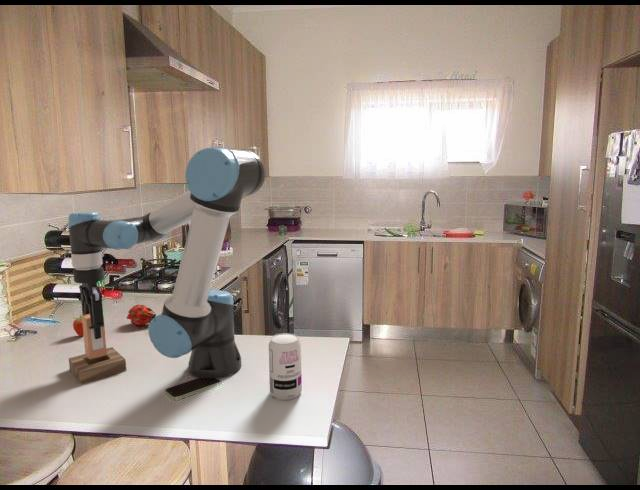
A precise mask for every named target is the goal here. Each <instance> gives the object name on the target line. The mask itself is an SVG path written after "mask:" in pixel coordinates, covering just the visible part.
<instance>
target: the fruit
mask: <svg viewBox="0 0 640 490" xmlns="http://www.w3.org/2000/svg"><path fill="white" fill-rule="evenodd" d="M72 318H73V319H75V320H74V321H73V323H72V326H73V330H74V332H75V333H76V334H77V336H79V337H82V336H83V337H84V333H83V323H82V313H80V314H79V317H74V316H73V317H72Z"/></svg>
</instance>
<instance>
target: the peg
mask: <svg viewBox="0 0 640 490" xmlns="http://www.w3.org/2000/svg"><path fill="white" fill-rule="evenodd" d="M81 316H82V323H83V333H84V335H83V341H84V343H83V344H84V354H85V355H86V356H87V357H88V358H89V359H93V358H97V357H101V356H105V355H107V351H106V349H107V342H106V341H107V340H106V339H107V338H106V330H105V325H104V326H102V336H103V347H104V348H101V349H97V350H93V349H92V338H91V329H89V327H91V326H92V325H91V319H90V313H89V314H84V315H83V314H81ZM104 316H105V315H103V319H104ZM104 320H105V319H104Z"/></svg>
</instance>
